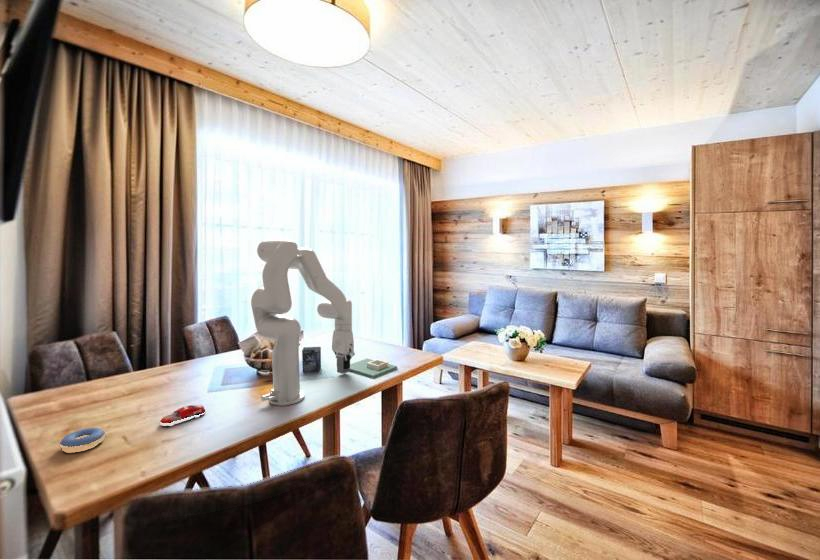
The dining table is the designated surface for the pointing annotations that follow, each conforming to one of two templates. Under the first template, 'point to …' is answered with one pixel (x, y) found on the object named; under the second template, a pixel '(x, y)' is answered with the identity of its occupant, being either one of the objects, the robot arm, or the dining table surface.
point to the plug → (341, 364)
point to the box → (311, 359)
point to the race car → (183, 413)
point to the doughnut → (93, 436)
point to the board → (371, 367)
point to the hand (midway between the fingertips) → (343, 367)
